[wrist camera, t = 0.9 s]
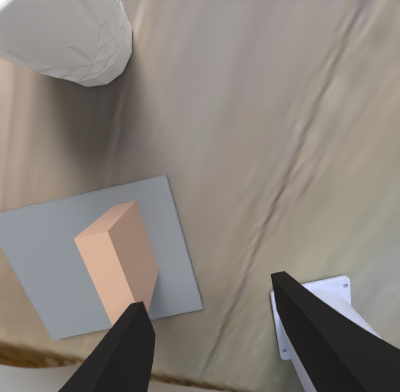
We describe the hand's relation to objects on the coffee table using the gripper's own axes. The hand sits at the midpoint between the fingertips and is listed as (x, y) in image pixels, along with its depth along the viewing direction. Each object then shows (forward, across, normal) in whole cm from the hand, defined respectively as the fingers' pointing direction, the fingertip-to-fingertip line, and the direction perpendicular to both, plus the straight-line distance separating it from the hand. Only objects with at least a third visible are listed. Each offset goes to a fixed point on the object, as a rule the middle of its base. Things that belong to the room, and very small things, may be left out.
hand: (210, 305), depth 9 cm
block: (+9, +6, 0) cm, 11 cm away
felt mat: (+10, +10, +2) cm, 14 cm away
